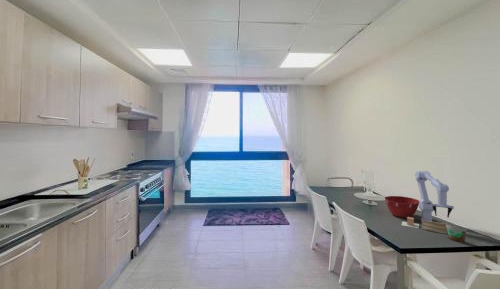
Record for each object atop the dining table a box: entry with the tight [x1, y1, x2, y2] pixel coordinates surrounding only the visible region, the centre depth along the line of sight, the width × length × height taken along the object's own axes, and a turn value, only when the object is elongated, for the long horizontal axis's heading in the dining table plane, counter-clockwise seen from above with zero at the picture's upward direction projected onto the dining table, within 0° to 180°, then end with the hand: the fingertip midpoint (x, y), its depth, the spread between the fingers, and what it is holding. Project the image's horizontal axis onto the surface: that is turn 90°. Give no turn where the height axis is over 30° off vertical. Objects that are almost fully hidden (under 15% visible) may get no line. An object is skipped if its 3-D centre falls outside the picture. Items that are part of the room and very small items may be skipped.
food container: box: [446, 222, 468, 243], centre depth 176 cm, size 12×6×10 cm, turn 21°
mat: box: [400, 221, 420, 229], centre depth 207 cm, size 12×12×1 cm
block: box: [406, 216, 415, 226], centre depth 207 cm, size 4×4×6 cm
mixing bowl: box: [384, 195, 421, 219], centre depth 234 cm, size 28×28×16 cm
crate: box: [421, 220, 451, 235], centre depth 197 cm, size 13×18×4 cm
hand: (441, 216), depth 199 cm, fingers open, 7 cm apart
